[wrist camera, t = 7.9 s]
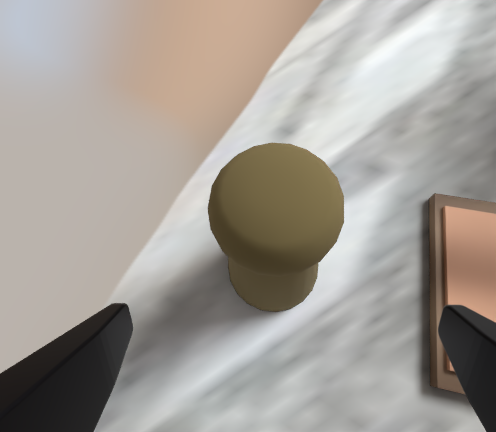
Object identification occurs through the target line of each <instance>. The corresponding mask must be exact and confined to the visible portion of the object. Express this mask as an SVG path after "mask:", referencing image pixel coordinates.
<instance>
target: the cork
mask: <svg viewBox="0 0 496 432" xmlns="http://www.w3.org/2000/svg"><path fill="white" fill-rule="evenodd" d="M208 215H209V221H210V228H211V231H212V233H213V234H214V236H215V238H216V240H217V242H218V244H219V246H220V247H221V249H222V251H223V252H224V253H225V254H226V255H227V256H228V269H229V275H230V281H231V283H232V285H233V287H234V289H235V290H236V292H237V294H238V295H239V296H240V297H241V298H242V299H243V300H244V301H245V302H246V303H247V304H249V305H251V306H254V307H256V308H258V309H260V310H264V311H273V312H278V311H282V310H287V309H291V308H293V307H294V306H296V305H298V304H299V303H301V302H303V301H304V299H305V298H306V297H307V296H308V295H309V293H310V292H311V291H312V289H313V287H314V284H315V281H316V279H317V273H318V262H320V261H321V260H322V259H323V257H324V256H325V255H326V254H327V253H328V252H329V250H330V249H331V248H332V247H333V246H334V244H335V243H336V242H337V239H338V236H339V234H340V231H341V228H342V226H343V223H344V196H343V193H342V190H341V187H340V185H339V182H338V179H337V177H336V176H335V175H334V173H333V172H332V171H331V170H330V168H329V167H328V166H327V165H326V163H325V162H324V161H322V160H321V159H320V158H318V157H317V156H315V155H314V154H312V153H311V152H309V151H308V150H306V149H303V148H300V147H297V146H294V145H291V144H282V143H268V144H263V145H258V146H254V147H252V148H250V149H248V150H246V151H244V152H242V153H240V154H238V155H237V156H235V157H234V158H233V159H232V160H231V161H230V162H229V163H228V164H227V165H226V166H224V167H223V168H222V169H221V171H220V173H219V174H218V176H217V178H216V180H215V181H214V183H213V185H212V188H211V194H210V199H209V204H208Z"/></svg>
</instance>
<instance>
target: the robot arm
mask: <svg viewBox="0 0 496 432" xmlns="http://www.w3.org/2000/svg"><path fill="white" fill-rule="evenodd" d="M132 331H133V324H132V320H131V315H130V311H129V307H128V305H127V304H125V303H113V304H111V305H109V306H107V307H106V308H104V309H103V310H101V311H99V312H98V313H96V314H95V315H93V316H91V317H90V318H88V319H87V320H85V321H84V322H82V323H80V324H79V325H77V326H76V327H74V328H72V329H71V330H69V331H68V332H66V333H64V334H63V335H62V336H60V337H58V338H56V339H55V340H54V341H52V342H50V343H48V344H47V345H45V346H44V347H42V348H40V349H39V350H37V351H36V352H34V353H33V354H31V355H29V356H28V357H26V358H24V359H23V360H21V361H20V362H18V363H16V364H15V365H13V366H12V367H10V368H8V369H7V370H5V371H4V372H2V373H1V374H0V432H94V430H95V427H96V425H97V423H98V421H99V419H100V416H101V414H102V412H103V410H104V408H105V405H106V403H107V401H108V399H109V396H110V394H111V392H112V390H113V387H114V385H115V382H116V380H117V377H118V374H119V371H120V368H121V365H122V362H123V359H124V356H125V353H126V350H127V347H128V344H129V341H130V338H131V335H132ZM438 334H439V337H440V340H441V342H442V344H443V346H444V349H445V351H446V353H447V355H448V358H449V360H450V362H451V364H452V367H453V369H454V371H455V373H456V375H457V378H458V380H459V382H460V384H461V386H462V388H463V390H464V392H465V394H466V396H467V398H468V400H469V402H470V404H471V405H472V407H473V409H474V411H475V412H476V414H477V416H478V418H479V419H480V421H481V423H482V425H483V426H484V428H485V430H486V432H496V322H494V321H492V320H490V319H488V318H486V317H484V316H482V315H480V314H479V313H477V312H475V311H473V310H471V309H469V308H467V307H465V306H463V305H445V306H444V308H443V310H442V314H441V318H440V322H439V326H438Z"/></svg>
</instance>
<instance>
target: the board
mask: <svg viewBox="0 0 496 432" xmlns="http://www.w3.org/2000/svg"><path fill="white" fill-rule="evenodd" d="M429 266H430V386H433V387H437V388H441V389H445V390H449V391H453V392H457V393H461V394H465V392H464V390H463V388H462V386H461V384H460V382H459V380H458V378H457V375H456V373H455V371H454V369H453V367H452V364H451V362H450V360H449V358H448V355H447V353H446V351H445V349H444V346H443V344H442V342H441V340H440V337H439V334H438V326H439V322H440V318H441V314H442V310H443V308H444V306H445V305H463V306H465V307H467V308H469V309H471V310H473V311H475V312H477V313H479V314H480V315H482V316H484V317H486V318H488V319H490V320H492V321H494V322H496V203H493V202H487V201H480V200H474V199H467V198H461V197H455V196H448V195H442V194H434V195H433V196H431V197H430V198H429ZM465 395H466V394H465Z"/></svg>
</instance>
